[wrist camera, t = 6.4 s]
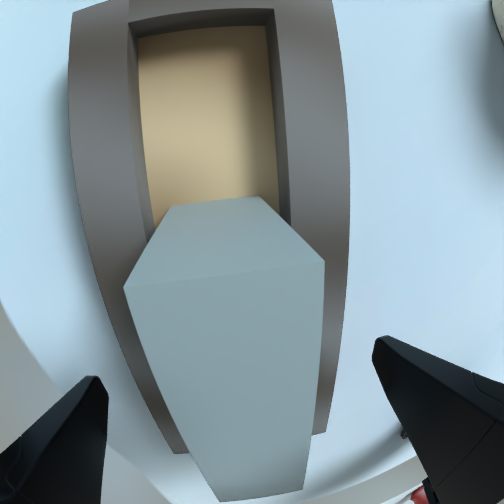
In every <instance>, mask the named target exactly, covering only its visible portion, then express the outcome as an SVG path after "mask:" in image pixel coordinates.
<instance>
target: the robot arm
mask: <svg viewBox="0 0 504 504" xmlns="http://www.w3.org/2000/svg"><path fill="white" fill-rule="evenodd" d="M372 362H373V365H374V367H375V370H376V372H377V375H378V377H379V379H380V382H381V384H382V387H383V389H384V392H385V394H386V396H387V398H388V400H389V402H390V404H391V406H392V408H393V410H394V412H395V413H396V415H397V417H398V419H399V421H400V423H401V425H402V427H403V428H404V430H403V432H402V434H401V437H402V439H405V438H407V437H408V438H409V440H410V442H411V444H412V446H413V448H414V450H415V452H416V454H417V455H418V457H419V459H420V461H421V463H422V465H423V467H424V469H425V471H426V473H427V475H428V477H427V478H426V479H424V480H423V481H422V483H423V486H424V491H425V494H426V497H427V500H428V503H429V504H504V384H503V383H500V382H497V381H494V380H491V379H489V378H486V377H483V376H481V375H479V374H476V373H474V372H472V373H471V371H469V370H467V369H464V368H462V367H460V366H457V365H455V364H452V363H450V362H448V361H446V360H443V359H441V358H439V357H436V356H434V355H432V354H429V353H427V352H425V351H422V350H420V349H418V348H416V347H413V346H411V345H409V344H407V343H404V342H402V341H400V340H398V339H395V338H393V337H391V336H388V335H385V336H382V337H378V338H377V339H376V340H375V344H374V349H373V353H372ZM108 403H109V397H108V393H107V391H106V389H105V387H104V386H103V384H102V382H101V380H100V378H99V377H98V376H85V377H84V378H83V379H82V380H81V381H80V382H79V383H78V384H76V385H75V386H74V387H73V388H72V389H71V390H70V391H69V392H68V393H67V394H65V395H64V396H63V397H62V398H61V399H60V400H59V401H58V402H57V403H56V404H54V405H53V406H52V407H51V408H50V409H49V410H48V411H47V412H46V413H45V414H44V415H43V416H41V417H40V418H39V419H38V420H37V421H36V422H35V423H34V424H33V425H32V426H31V427H30V428H29V429H27V430H26V431H25V432H24V433H23V434H22V436H20V437H19V438H18V439H17V440H16V441H15V442H13V443H12V444H11V445H10V446H9V447H8V448H7V449H6V450H4V451H3V452H2V453H1V454H0V504H100V503H101V502H100V501H101V487H102V476H103V466H104V458H105V449H106V441H107V424H108Z"/></svg>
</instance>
